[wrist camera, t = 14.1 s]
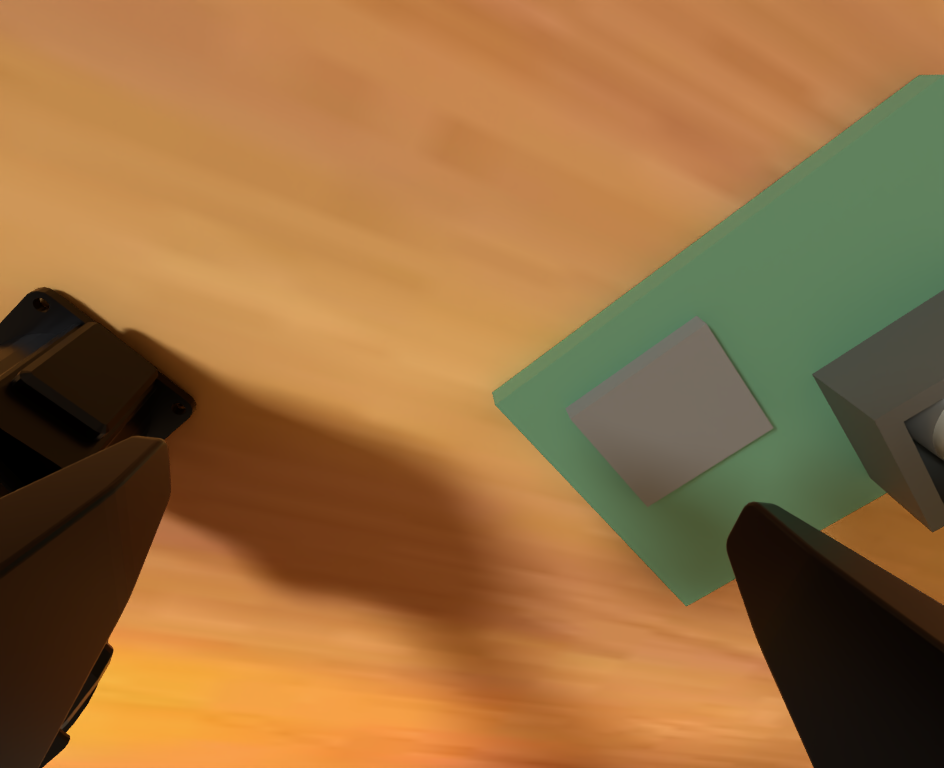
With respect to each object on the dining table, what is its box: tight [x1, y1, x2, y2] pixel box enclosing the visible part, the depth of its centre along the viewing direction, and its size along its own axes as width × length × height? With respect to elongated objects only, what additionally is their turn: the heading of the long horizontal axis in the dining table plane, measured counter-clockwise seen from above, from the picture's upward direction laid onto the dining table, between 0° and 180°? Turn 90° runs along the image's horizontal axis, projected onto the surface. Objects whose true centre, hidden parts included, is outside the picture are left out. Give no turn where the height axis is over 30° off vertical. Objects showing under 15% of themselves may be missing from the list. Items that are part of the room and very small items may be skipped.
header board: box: [492, 75, 944, 606], centre depth 22 cm, size 18×16×4 cm
